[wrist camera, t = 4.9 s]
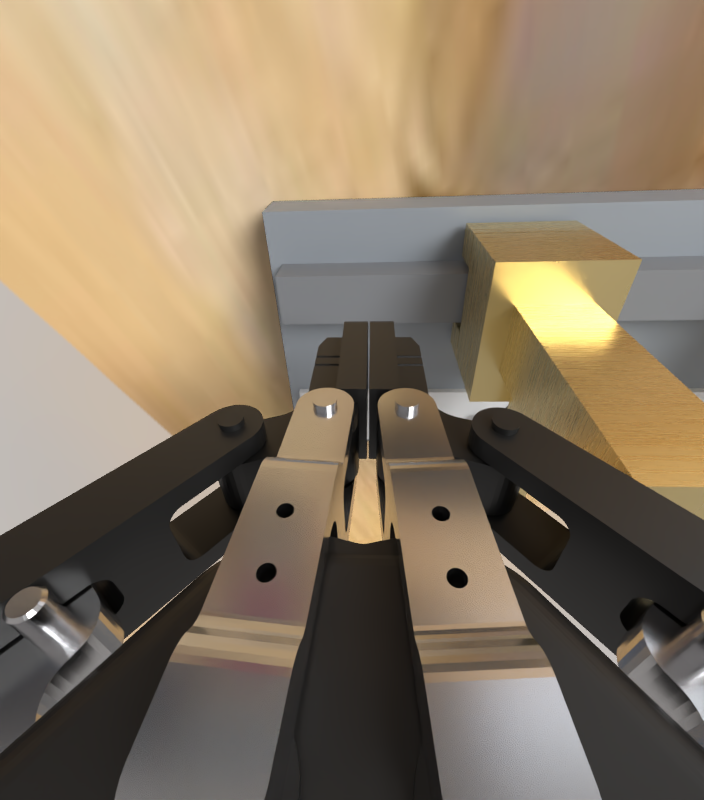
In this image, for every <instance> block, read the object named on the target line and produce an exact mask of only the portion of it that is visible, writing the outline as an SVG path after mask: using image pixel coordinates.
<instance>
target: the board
mask: <svg viewBox="0 0 704 800" xmlns="http://www.w3.org/2000/svg"><path fill="white" fill-rule="evenodd" d="M262 214H263V221H264V227H265V233H266V239H267V246H268V252H269V258H270V264H271V271H272V277H273V283H274V289H275V295H276V302H277V308H278V314H279V320H280V327H281V333H282V339H283V345H284V352H285V358H286V364H287V370H288V377H289V383H290V389H291V395H292V402H293V408H294V409H295V406H296V404H297V402H298V400H299V399H300V397H302V396H303V395H304V394H306V393H307V392H309V387H310V383H311V378H312V374H313V369H314V366H315V360H316V356H317V351H318V347H319V345H320V344H321V343H322V342H323V341H324V340H325V339H326V338H327V337H342V336H343V328H344V322H345V321H368V411H367V441H369V359H370V321H394V329H395V337H411V338H412V339H413V340H414V341H415V342H416V343H417V344H418V345H419V346H420V351H421V358H422V362H423V367H424V372H425V378H426V383H427V388H428V394H429V395H430V396H431V397H432V398H433V399H434V401H435V402H436V405H437V408H438V409H439V410H441V411H443V412H444V413H446V414H449V415H452V416H455V417H459V418H464V419H468V420H472V419H473V417H474V416H475V414H476V413H478V412H479V411H481V410H483V409H487V408H493V407H499V408H507V407H508V404H509V402H469V399H468V395H467V392H466V389H465V386H464V383H463V380H462V376H461V373H460V370H459V367H458V364H457V361H456V358H455V354H454V351H453V348H452V345H451V342H450V341H451V333H452V326H453V323H461V319H462V313H463V306H464V299H465V292H466V286H467V279H468V272H469V267H468V266H467V264H466V262H465V260H464V259H463V257H462V251H463V244H464V237H465V229H466V223H493V222H533V221H573V220H577V221H578V222H580V223H582V224H583V225H585V226H587V227H588V228H590V229H592V230H593V231H595V232H597V233H599V234H600V235H602V236H604V237H605V238H607V239H609V240H610V241H612V242H614V243H615V244H617V245H619V246H620V247H622V248H624V249H625V250H627V251H629V252H630V253H632V254H634V255H636V256H637V257H639V258H641V259H642V262H641V264H640V266H639V269H638V271H637V274H636V276H635V278H634V281H633V283H632V286H631V288H630V291H629V293H628V295H627V298H626V300H625V303H624V305H623V308H622V310H621V312H620V315H619V317H618V320H617V323H618V324H619V325H620V326H621V327H622V328H623V329H624V330H625V331H626V332H627V333H629V334H630V335H631V336H632V337H633V338H634V339H635V340H636V341H637V342H638V343H639V344H641V345H642V346H643V347H644V348H645V349H646V350H647V351H648V352H649V353H650V354H651V355H652V356H654V357H655V358H656V359H657V360H658V361H659V362H660V363H661V364H662V365H663V366H664V367H666V368H667V369H668V370H669V371H670V372H671V373H672V374H673V375H674V376H675V377H676V378H678V379H679V380H680V381H681V382H682V383H683V384H684V385H685V386H686V387H687V388H688V389H690V390H691V391H692V392H693V393H694V394H695V395H696V396H697V397H698V398H699V399H700V400H702V401H703V402H704V189H684V190H650V191H615V192H581V193H546V194H511V195H477V196H442V197H408V198H373V199H338V200H304V201H273V202H272V203H271V204H270V205H269V206H268V207H267V208H266V209H265V210H264V211H263V212H262Z"/></svg>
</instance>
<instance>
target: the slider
mask: <svg viewBox="0 0 704 800" xmlns="http://www.w3.org/2000/svg"><path fill="white" fill-rule="evenodd" d="M462 257H463V259H464V260H465V262H466V264H467V266H468V267H469V272H468V279H467V286H466V292H465V299H464V306H463V313H462V319H461V323H453V326H452V333H451V341H450V342H451V345H452V348H453V351H454V354H455V358H456V361H457V364H458V367H459V370H460V373H461V376H462V380H463V383H464V386H465V389H466V392H467V395H468V399H469V402H509V404H508V407H507V409H511V410H515V411H517V412H520V413H522V414H524V415H525V416H527V417H529V418H530V419H532V420H534V421H536V422H537V423H539V424H541V425H542V426H544V427H546V428H548V429H549V430H551V431H553V432H554V433H556V434H558V435H560V436H561V437H563V438H565V439H566V440H568V441H570V442H572V443H573V444H575V445H577V446H578V447H580V448H582V449H583V450H585V451H587V452H589V453H590V454H592V455H594V456H595V457H597V458H599V459H601V460H602V461H604V462H606V463H607V464H609V465H611V466H613V467H614V468H616V469H618V470H619V471H621V472H623V473H625V474H626V475H628V476H630V477H631V478H633V479H635V480H636V481H638V482H640V483H642V484H643V485H645V486H647V487H648V488H650V489H652V490H654V491H655V492H657V493H659V494H660V495H662V496H664V497H666V498H667V499H669V500H671V501H672V502H674V503H676V504H678V505H679V506H681V507H683V508H684V509H686V510H688V511H689V512H691V513H693V514H695V515H696V516H698V517H700V518H701V519H703V520H704V402H703V401H702V400H700V399H699V398H698V397H697V396H696V395H695V394H694V393H693V392H692V391H691V390H690V389H688V388H687V387H686V386H685V385H684V384H683V383H682V382H681V381H680V380H679V379H678V378H676V377H675V376H674V375H673V374H672V373H671V372H670V371H669V370H668V369H667V368H666V367H664V366H663V365H662V364H661V363H660V362H659V361H658V360H657V359H656V358H655V357H654V356H652V355H651V354H650V353H649V352H648V351H647V350H646V349H645V348H644V347H643V346H642V345H641V344H639V343H638V342H637V341H636V340H635V339H634V338H633V337H632V336H631V335H630V334H629V333H627V332H626V331H625V330H624V329H623V328H622V327H621V326H620V325H619V324H618V323H617V320H618V317H619V315H620V312H621V310H622V308H623V305H624V303H625V300H626V298H627V295H628V293H629V291H630V288H631V286H632V283H633V281H634V278H635V276H636V274H637V271H638V269H639V266H640V264H641V262H642V259H641V258H639V257H637V256H636V255H634V254H632V253H630V252H629V251H627V250H625V249H624V248H622V247H620V246H619V245H617V244H615V243H614V242H612V241H610V240H609V239H607V238H605V237H604V236H602V235H600V234H599V233H597V232H595V231H593V230H592V229H590V228H588V227H587V226H585V225H583V224H582V223H580V222H578V221H577V220H573V221H533V222H493V223H466V229H465V237H464V244H463V251H462ZM519 493H520V494H521V495H523V496H524V497H525V496H526V493H527V492H525V491H524V490H523V489H521V488H520V490H519Z"/></svg>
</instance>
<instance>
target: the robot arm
mask: <svg viewBox="0 0 704 800" xmlns="http://www.w3.org/2000/svg"><path fill="white" fill-rule="evenodd" d="M367 411H368V321H345V322H344V328H343V336H342V337H327V338H326V339H325V340H324V341H323V342H322V343H321V344H320V345H319V347H318V351H317V356H316V360H315V366H314V369H313V374H312V378H311V383H310V387H309V392H307V393H306V394H304V395H303V396H302V397H300V399H299V400H298V402H297V404H296V406H295V409H294V411H292V412H290V413H288V414H285V415H281V416H277V417H272V418H268V419H263V416H262V414H261V413H260V411H258V410H257V409H256V408H254V407H251V406H246V405H233V406H228V407H225V408H222V409H219V410H217V411H215V412H213V413H212V414H210V415H208V416H206V417H205V418H203V419H201V420H200V421H198V422H196V423H194V424H193V425H191V426H189V427H187V428H186V429H184V430H182V431H181V432H179V433H177V434H175V435H174V436H172V437H170V438H168V439H167V440H165V441H163V442H161V443H160V444H158V445H156V446H155V447H153V448H151V449H150V450H148V451H146V452H144V453H142V454H141V455H139V456H137V457H136V458H134V459H132V460H131V461H129V462H127V463H125V464H123V465H122V466H120V467H118V468H117V469H115V470H113V471H111V472H110V473H108V474H106V475H104V476H103V477H101V478H99V479H97V480H96V481H94V482H92V483H91V484H89V485H87V486H85V487H84V488H82V489H80V490H79V491H77V492H75V493H73V494H72V495H70V496H68V497H66V498H65V499H63V500H61V501H59V502H58V503H56V504H54V505H53V506H51V507H49V508H47V509H46V510H44V511H42V512H40V513H39V514H37V515H35V516H33V517H32V518H30V519H28V520H26V521H25V522H23V523H22V524H20V525H18V526H16V527H14V528H13V529H11V530H10V531H7V532H6V533H4V534H2V535H0V800H704V520H703V519H701V518H700V517H698V516H696V515H695V514H693V513H691V512H689V511H688V510H686V509H684V508H683V507H681V506H679V505H678V504H676V503H674V502H672V501H671V500H669V499H667V498H666V497H664V496H662V495H660V494H659V493H657V492H655V491H654V490H652V489H650V488H648V487H647V486H645V485H643V484H642V483H640V482H638V481H636V480H635V479H633V478H631V477H630V476H628V475H626V474H625V473H623V472H621V471H619V470H618V469H616V468H614V467H613V466H611V465H609V464H607V463H606V462H604V461H602V460H601V459H599V458H597V457H595V456H594V455H592V454H590V453H589V452H587V451H585V450H583V449H582V448H580V447H578V446H577V445H575V444H573V443H572V442H570V441H568V440H566V439H565V438H563V437H561V436H560V435H558V434H556V433H554V432H553V431H551V430H549V429H548V428H546V427H544V426H542V425H541V424H539V423H537V422H536V421H534V420H532V419H530V418H529V417H527V416H525V415H524V414H522V413H520V412H517V411H515V410H511V409H507V408H499V407H493V408H487V409H483V410H481V411H479V412H478V413H476V414H475V416H474V417H473V419H472V420H468V419H464V418H459V417H455V416H452V415H449V414H446V413H444V412H443V411H441V410H439V409H438V408H437V405H436V402H435V401H434V399H433V398H432V397H431V396H430V395H429V394H428V388H427V383H426V378H425V372H424V367H423V362H422V358H421V351H420V346H419V345H418V344H417V343H416V342H415V341H414V340H413V339H412V338H411V337H395V329H394V321H370V359H369V459H376V469H377V472H376V486H377V495H378V505H379V515H380V524H381V534H382V541H378V542H373V543H369V544H358V543H354V542H350V541H348V539H349V532H350V525H351V517H352V510H353V503H354V496H355V489H356V475H357V473H358V468H359V459H367ZM216 481H219V484H220V487H219V488H218V489H216V490H215V491H213V492H212V493H211V494H209V495H208V496H206V497H205V498H203V499H202V500H201V501H199V502H198V503H197V504H195V505H194V506H192V507H191V508H190V509H188V510H187V511H185V512H184V513H183V514H181V515H180V516H178V517H177V518H175V519H174V520H173V521H171V522H170V520H171V518H172V516H173V514H174V513H175V512H176V511H177V509H179V508H180V507H181V506H182V505H184V504H185V503H187V502H188V501H189V500H191V499H192V498H193V497H195V496H197V495H198V494H199V493H201V492H202V491H204V490H205V489H206V488H208V487H209V486H211V485H212V484H214V483H215V482H216ZM520 488H521V489H523V490H524V491H525V492H527V493H528V494H530V495H531V496H532V497H534V498H535V499H536V500H538V501H539V502H540V503H542V504H543V505H545V506H546V507H547V508H549V509H550V510H551V511H553V512H554V513H555V514H557V515H558V516H559V517H560V518H561V519H563V521H564V522H565V523H566V525H567V526H568V528H569V530H568V529H567V528H566V527H564V526H563V525H562V524H560V523H559V522H557V521H556V520H555V519H554V518H552V517H551V516H550V515H548V514H547V513H546V512H544V511H543V510H542V509H540V508H539V507H538V506H536V505H535V504H533V503H532V502H531V501H529V500H528V499H527V498H525V497H524V496H523V495H521V494H520V493H519V490H520ZM500 553H501V554H503V555H504V556H505V557H506V558H507V559H508V560H509V561H510V562H512V563H513V564H514V565H515V566H516V567H517V568H518V569H519V570H521V571H522V572H523V573H524V574H525V575H526V576H527V577H528V578H529V579H531V580H532V581H533V582H534V583H535V584H536V585H537V586H538V587H540V588H541V589H542V590H543V591H544V592H545V593H546V594H547V595H549V596H550V597H551V598H552V599H553V600H554V601H555V602H557V603H558V604H559V605H560V606H561V607H562V608H563V609H564V610H565V611H567V612H568V613H569V614H570V615H571V616H572V617H573V618H574V619H576V620H577V621H578V622H579V623H580V624H581V625H582V626H583V627H584V628H586V629H587V630H588V631H589V632H590V633H591V634H592V635H593V636H595V637H596V638H597V639H598V640H599V641H600V642H601V643H602V644H604V645H605V646H606V647H607V648H608V649H609V650H610V651H612V652H613V653H614V654H615V655H616V656H617V662H618V666H619V667H618V666H617V665H616V664H615V663H613V662H612V661H611V660H610V659H609V658H608V657H607V656H606V655H605V654H604V653H603V652H602V651H601V650H600V649H599V648H598V647H597V646H595V644H593V643H592V642H591V641H590V640H589V639H588V638H587V637H586V636H585V635H584V634H583V633H582V632H581V631H580V630H579V629H578V628H577V627H576V626H575V625H573V624H572V623H571V622H570V621H569V620H568V619H567V618H566V617H565V616H564V615H563V614H562V613H561V612H560V611H559V610H558V609H556V608H555V607H554V606H553V605H552V604H551V603H550V602H549V601H548V600H547V599H546V598H545V597H544V596H543V595H542V594H541V593H540V592H539V591H538V590H537V589H536V588H534V587H533V586H532V585H531V584H530V583H529V582H528V581H526V580H525V579H524V578H523V577H521V576H520V575H519V574H517V573H516V572H515V571H513V570H512V569H510V568H508V567H507V566H505V565H504V563H503V560H502V558H501V554H500ZM223 555H224V556H223ZM222 556H223V558H222V560H221V561H219V562H218V563H216V564H215V565H213V566H212V567H210V566H211V565H212V564H214V563H215V562H216V561H217V560H218V559H220V558H221V557H222ZM209 567H210V568H209ZM208 568H209V569H208ZM207 569H208V570H207ZM205 570H206V571H205ZM204 571H205V572H204ZM199 575H200V576H199ZM198 576H199V577H198ZM192 581H193V582H192ZM191 582H192V583H191ZM190 583H191V584H190ZM189 584H190V585H189ZM188 585H189V586H188ZM186 586H187V587H186ZM185 587H186V588H185ZM184 588H185V589H184ZM183 589H184V590H183ZM182 590H183V591H182ZM181 591H182V592H181ZM179 592H181V593H179ZM178 593H179V594H178ZM177 594H178V595H177ZM176 595H177V596H176ZM175 596H176V597H175ZM173 597H175V598H174V599H173V600H172V601H171V602H169V601H170V600H171V599H172V598H173ZM167 602H169V603H168V604H167V605H166V606H165V607H164V608H163V609H162V610H160V611H159V612H158V613H157V614H156V615H155V616H154V617H153V618H151V619H150V620H149V621H148V622H147V623H146V624H145V625H144V626H143V627H141V628H140V629H139V630H138V631H137V632H136V633H135V634H134V635H132V636H131V637H130V638H129V639H128V640H127V641H126V642H125V643H123V640H124V639H125V638H126V637H127V636H128V635H130V634H131V633H132V632H133V631H134V630H135V629H137V628H138V627H139V626H140V625H141V624H142V623H144V622H145V621H146V620H147V619H149V618H150V617H151V616H152V615H153V614H154V613H156V612H157V611H158V610H159V609H160V608H162V607H163V606H164V605H165V604H166V603H167Z"/></svg>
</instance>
